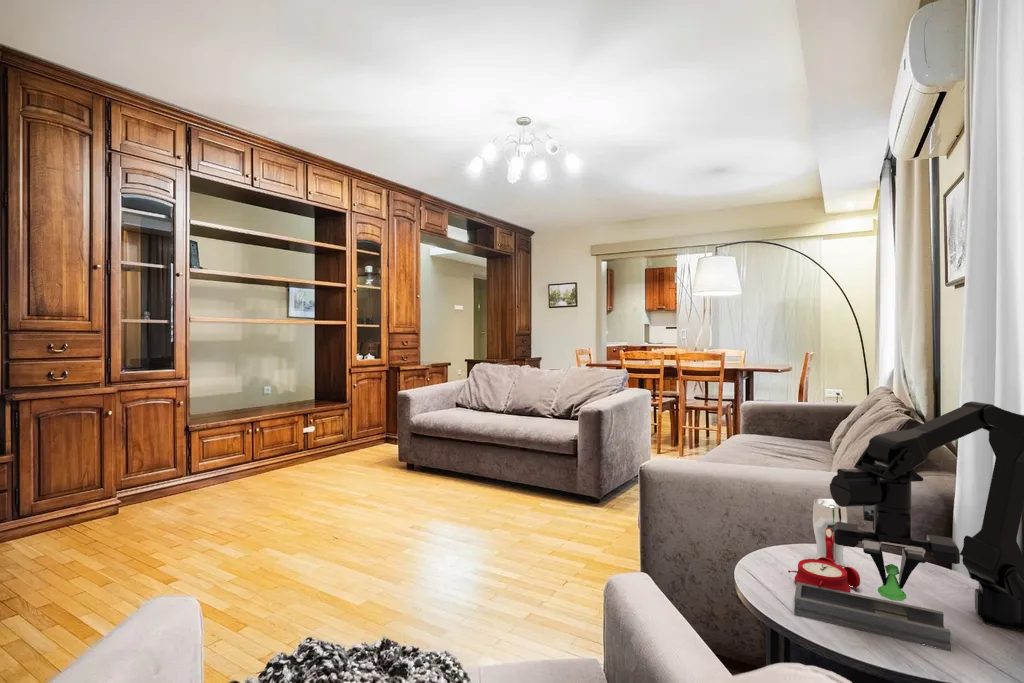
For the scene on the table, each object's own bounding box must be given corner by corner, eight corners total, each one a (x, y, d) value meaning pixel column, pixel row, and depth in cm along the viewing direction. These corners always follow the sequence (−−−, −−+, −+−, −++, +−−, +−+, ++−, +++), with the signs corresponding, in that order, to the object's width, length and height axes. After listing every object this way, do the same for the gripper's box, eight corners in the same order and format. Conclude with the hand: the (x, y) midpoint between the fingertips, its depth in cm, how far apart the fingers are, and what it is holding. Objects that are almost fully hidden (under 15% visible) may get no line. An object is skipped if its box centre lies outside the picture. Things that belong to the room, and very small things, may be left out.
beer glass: (834, 575, 120) (833, 509, 119) (806, 562, 126) (805, 500, 126) (854, 568, 122) (854, 504, 122) (826, 557, 129) (825, 496, 128)
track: (941, 625, 99) (941, 609, 99) (951, 651, 91) (951, 634, 91) (796, 594, 112) (796, 580, 111) (794, 614, 104) (794, 599, 104)
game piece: (906, 593, 100) (907, 562, 99) (905, 603, 96) (905, 571, 96) (879, 587, 102) (879, 556, 102) (877, 596, 99) (877, 565, 99)
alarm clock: (780, 565, 116) (823, 539, 122) (784, 592, 117) (827, 564, 123) (826, 586, 107) (870, 556, 113) (830, 614, 108) (874, 583, 114)
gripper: (948, 498, 101) (948, 579, 101) (833, 485, 110) (834, 559, 111) (960, 517, 91) (960, 606, 92) (834, 501, 101) (834, 582, 101)
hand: (892, 586), depth 99 cm, fingers closed on game piece, 2 cm apart
